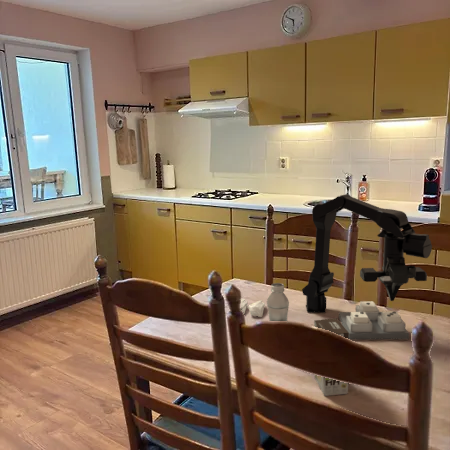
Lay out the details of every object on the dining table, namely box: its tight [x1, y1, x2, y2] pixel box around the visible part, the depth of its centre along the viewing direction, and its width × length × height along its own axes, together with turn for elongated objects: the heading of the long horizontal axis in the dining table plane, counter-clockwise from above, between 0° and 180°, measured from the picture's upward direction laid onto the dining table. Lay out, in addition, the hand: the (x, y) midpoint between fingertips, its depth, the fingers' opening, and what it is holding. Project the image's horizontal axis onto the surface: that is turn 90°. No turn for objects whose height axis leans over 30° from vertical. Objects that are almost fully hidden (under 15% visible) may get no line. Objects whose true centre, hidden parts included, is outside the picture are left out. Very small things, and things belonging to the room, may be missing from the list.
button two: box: [350, 311, 368, 323], centre depth 138 cm, size 4×4×3 cm
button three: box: [381, 311, 402, 323], centre depth 137 cm, size 4×4×3 cm
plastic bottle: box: [266, 282, 290, 322], centre depth 129 cm, size 6×7×20 cm
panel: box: [338, 304, 410, 340], centre depth 142 cm, size 18×17×4 cm
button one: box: [359, 300, 378, 312], centre depth 146 cm, size 4×4×3 cm
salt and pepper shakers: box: [240, 298, 266, 318], centre depth 160 cm, size 12×4×11 cm
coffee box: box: [313, 318, 349, 397], centre depth 109 cm, size 9×6×16 cm
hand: (391, 300), depth 136 cm, fingers closed
